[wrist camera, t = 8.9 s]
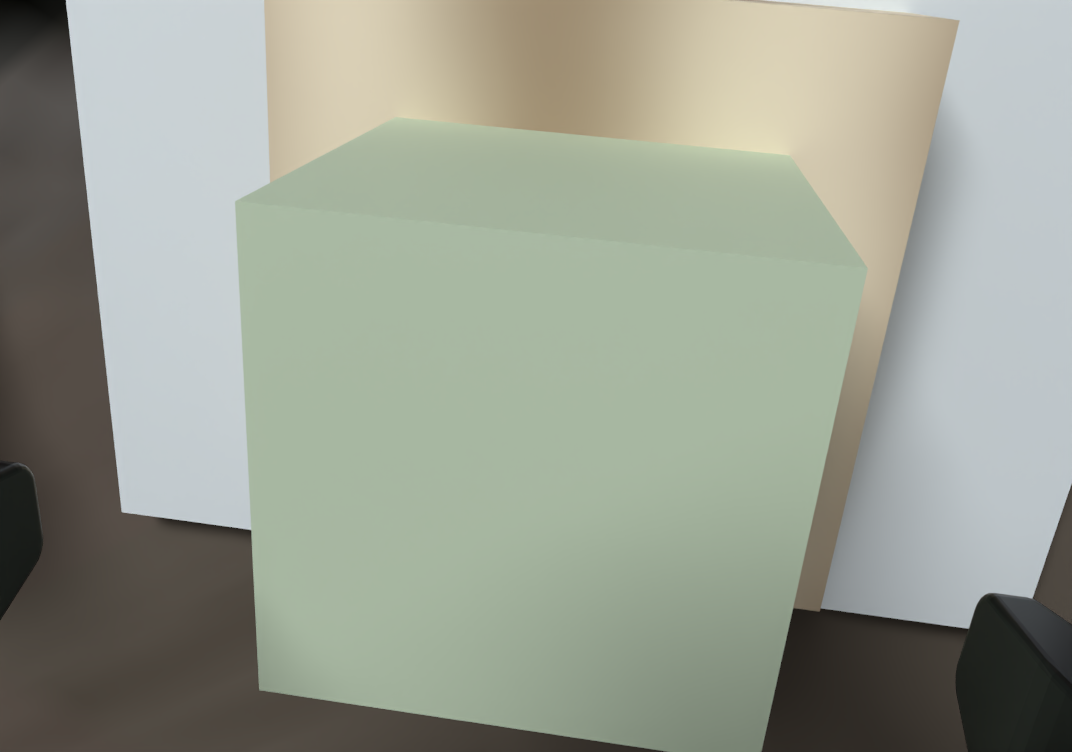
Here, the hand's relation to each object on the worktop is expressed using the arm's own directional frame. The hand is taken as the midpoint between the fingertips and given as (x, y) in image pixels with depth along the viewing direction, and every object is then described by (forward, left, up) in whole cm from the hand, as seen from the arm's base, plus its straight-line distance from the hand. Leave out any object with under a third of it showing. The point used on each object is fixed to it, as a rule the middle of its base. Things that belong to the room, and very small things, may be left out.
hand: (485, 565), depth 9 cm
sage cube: (0, 0, -7) cm, 7 cm away
